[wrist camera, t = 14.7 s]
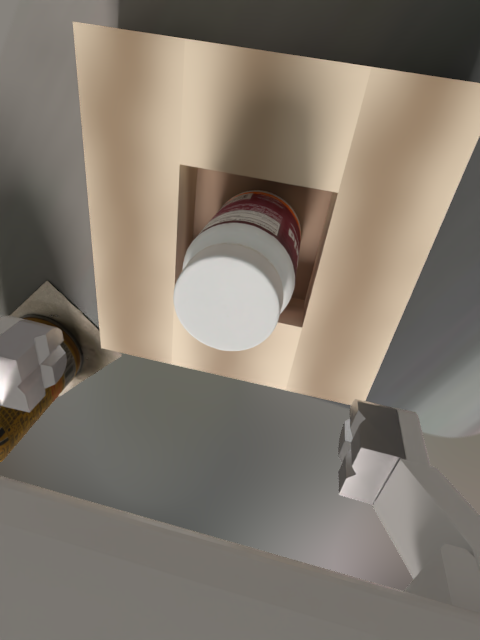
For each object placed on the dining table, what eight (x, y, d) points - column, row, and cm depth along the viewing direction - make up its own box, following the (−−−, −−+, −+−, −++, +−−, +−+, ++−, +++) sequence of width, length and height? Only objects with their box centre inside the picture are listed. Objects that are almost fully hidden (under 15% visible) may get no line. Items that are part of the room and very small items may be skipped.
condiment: (-10, 333, 30) (-174, 458, 20) (48, 279, 26) (-120, 400, 16) (61, 394, 33) (-56, 533, 23) (124, 352, 29) (16, 498, 19)
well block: (467, 85, 17) (500, 86, 13) (357, 366, 25) (362, 407, 22) (117, 31, 18) (72, 21, 15) (127, 316, 27) (101, 348, 24)
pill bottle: (292, 279, 22) (277, 372, 15) (212, 263, 22) (160, 345, 15) (311, 197, 19) (304, 261, 12) (220, 179, 20) (164, 233, 13)
